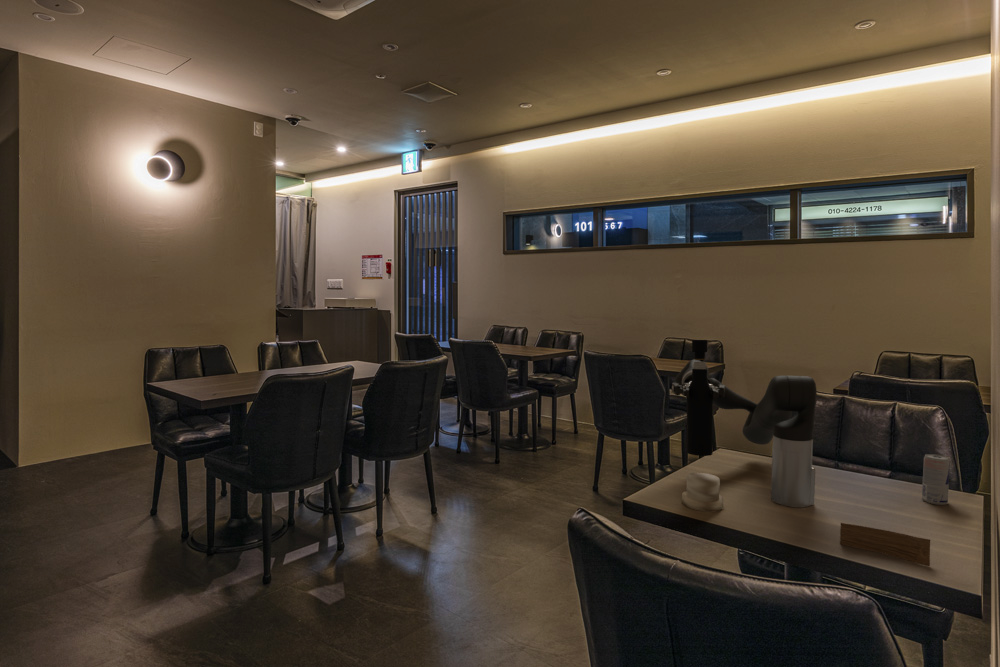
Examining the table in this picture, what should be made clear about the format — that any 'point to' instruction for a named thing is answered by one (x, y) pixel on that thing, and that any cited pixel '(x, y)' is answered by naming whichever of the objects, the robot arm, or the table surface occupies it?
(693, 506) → the plinth
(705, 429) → the black bottle
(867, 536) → the wood plank
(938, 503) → the energy drink
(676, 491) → the table surface
